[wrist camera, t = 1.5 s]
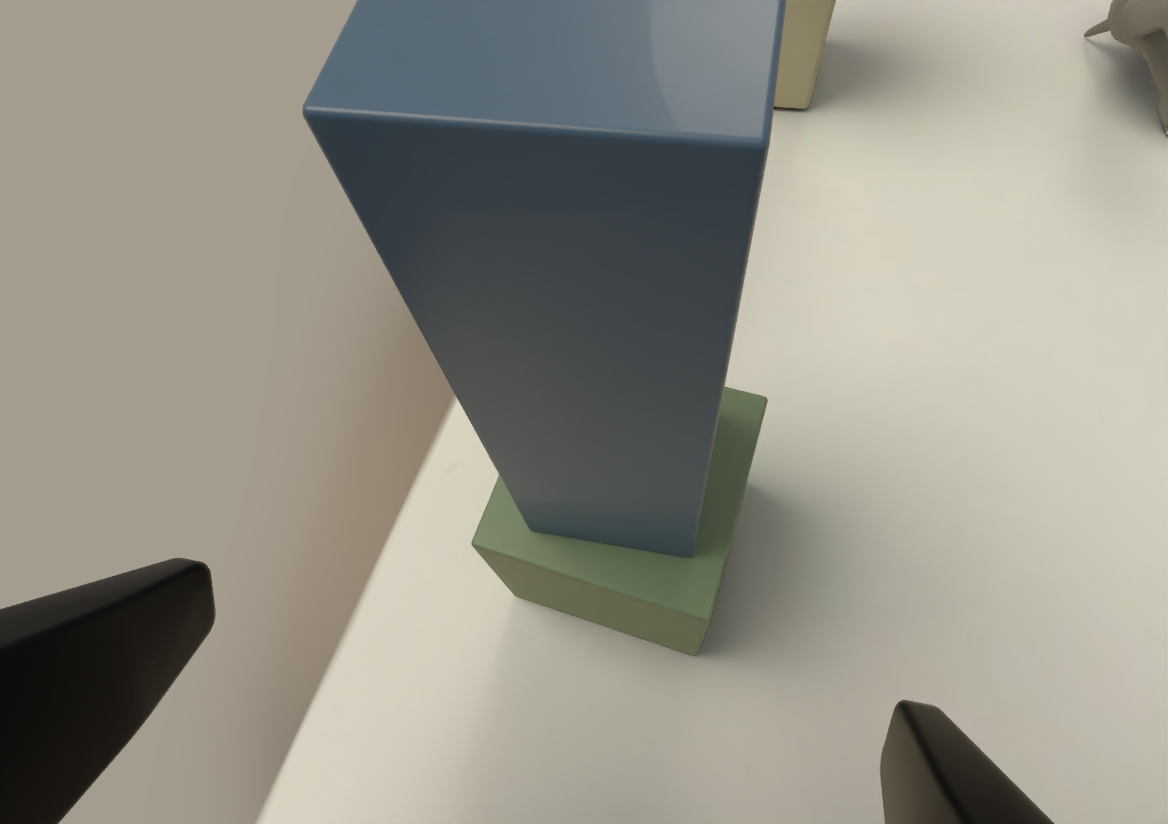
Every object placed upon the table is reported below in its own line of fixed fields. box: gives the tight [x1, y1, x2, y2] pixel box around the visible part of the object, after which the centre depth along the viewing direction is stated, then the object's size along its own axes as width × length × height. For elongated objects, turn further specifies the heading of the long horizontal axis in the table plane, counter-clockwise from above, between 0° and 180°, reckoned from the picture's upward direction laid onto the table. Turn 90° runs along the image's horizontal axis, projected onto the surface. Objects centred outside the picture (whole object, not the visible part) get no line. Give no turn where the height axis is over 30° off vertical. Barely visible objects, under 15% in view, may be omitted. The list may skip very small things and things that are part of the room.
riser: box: [472, 387, 767, 656], centre depth 20 cm, size 6×6×6 cm
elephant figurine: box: [1084, 0, 1168, 135], centre depth 28 cm, size 10×6×9 cm
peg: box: [303, 0, 787, 558], centre depth 12 cm, size 4×4×12 cm
